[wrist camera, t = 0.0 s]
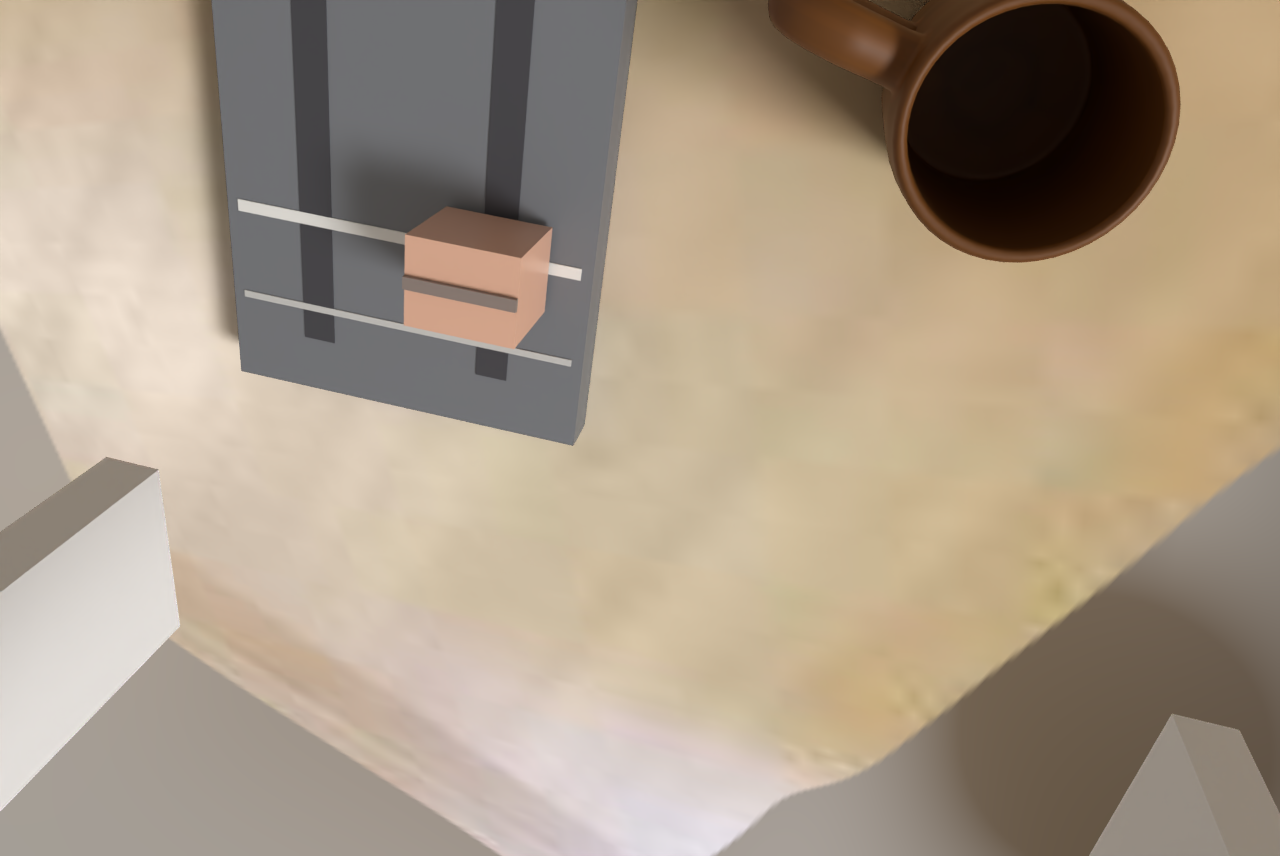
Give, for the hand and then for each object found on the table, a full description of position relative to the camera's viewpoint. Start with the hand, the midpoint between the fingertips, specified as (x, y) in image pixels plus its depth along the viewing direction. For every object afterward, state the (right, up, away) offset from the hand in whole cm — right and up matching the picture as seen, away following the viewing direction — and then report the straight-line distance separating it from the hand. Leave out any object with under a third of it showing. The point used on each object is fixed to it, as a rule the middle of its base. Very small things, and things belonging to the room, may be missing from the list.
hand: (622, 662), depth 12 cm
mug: (+11, +16, +21) cm, 29 cm away
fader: (-6, +10, +26) cm, 28 cm away
